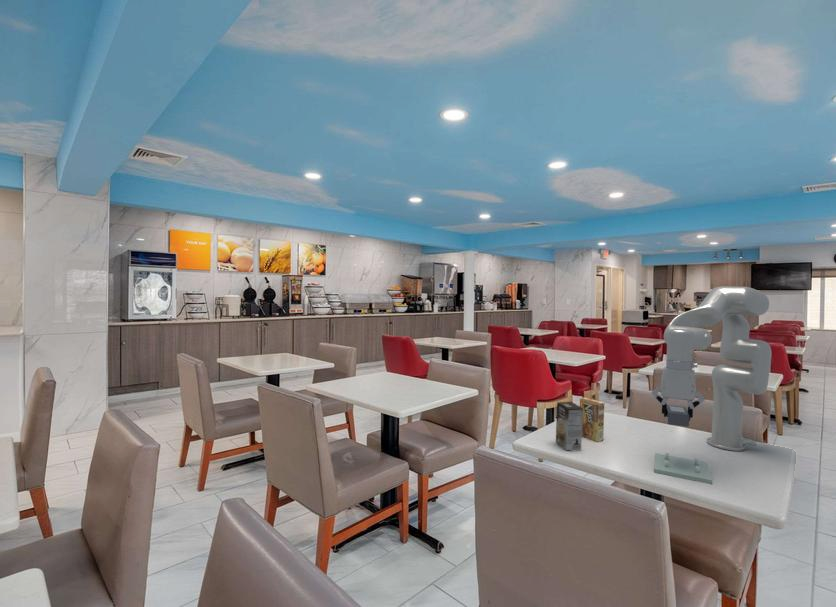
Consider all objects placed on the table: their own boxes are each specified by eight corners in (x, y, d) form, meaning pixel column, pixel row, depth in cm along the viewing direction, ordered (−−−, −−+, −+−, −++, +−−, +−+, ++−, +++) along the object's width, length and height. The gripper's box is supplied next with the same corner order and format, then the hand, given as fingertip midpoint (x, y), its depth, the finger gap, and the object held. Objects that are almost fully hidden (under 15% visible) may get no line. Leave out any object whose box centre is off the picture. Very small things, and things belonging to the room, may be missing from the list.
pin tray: (707, 466, 151) (708, 456, 150) (712, 484, 137) (712, 474, 137) (654, 456, 158) (655, 447, 158) (654, 472, 145) (654, 462, 144)
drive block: (685, 418, 152) (685, 406, 151) (688, 426, 143) (689, 414, 142) (665, 415, 154) (665, 404, 154) (667, 424, 145) (668, 411, 145)
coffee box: (554, 442, 171) (556, 401, 170) (570, 441, 172) (571, 401, 171) (566, 451, 162) (567, 408, 161) (582, 450, 163) (583, 408, 162)
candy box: (603, 440, 174) (605, 402, 173) (597, 442, 172) (598, 403, 171) (584, 433, 182) (585, 397, 181) (578, 435, 179) (579, 398, 179)
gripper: (708, 366, 146) (706, 419, 147) (650, 361, 155) (648, 410, 156) (710, 370, 140) (707, 425, 141) (649, 364, 149) (647, 416, 149)
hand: (676, 417), depth 148 cm, fingers closed on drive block, 6 cm apart
